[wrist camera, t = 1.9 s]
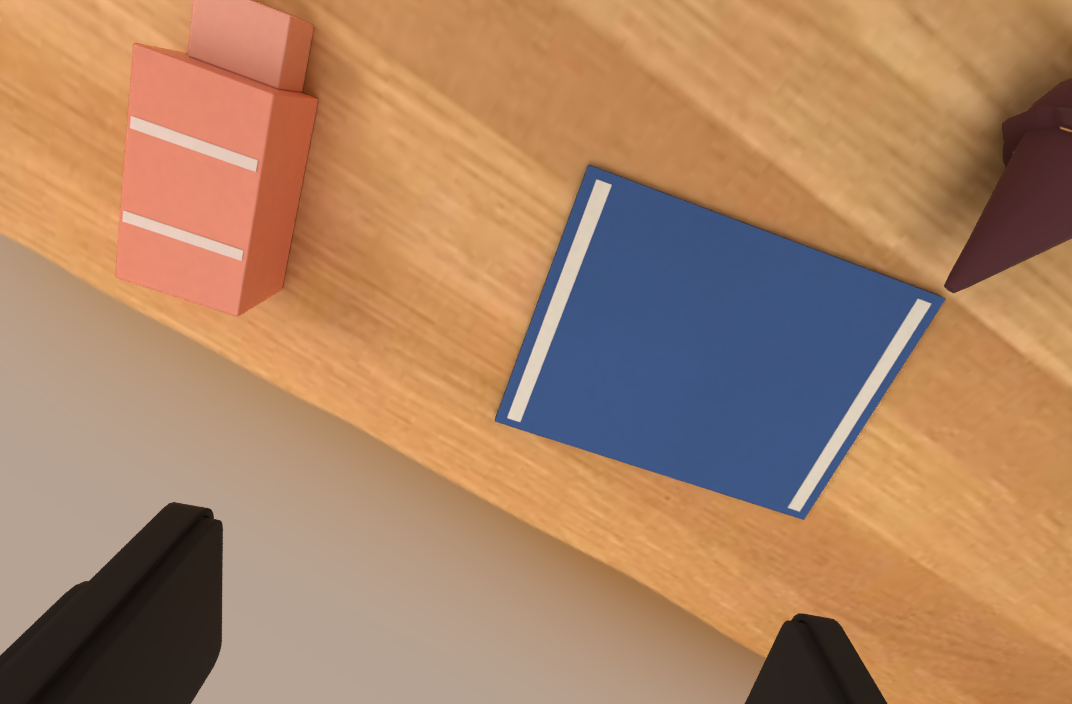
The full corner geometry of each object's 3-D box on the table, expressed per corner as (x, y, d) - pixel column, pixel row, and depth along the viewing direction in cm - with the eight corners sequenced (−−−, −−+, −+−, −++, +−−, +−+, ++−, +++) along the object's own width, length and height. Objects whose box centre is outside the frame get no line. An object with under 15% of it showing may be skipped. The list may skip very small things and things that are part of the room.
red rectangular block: (210, -15, 26) (137, -45, 21) (332, 31, 26) (287, 12, 22) (178, 255, 30) (113, 278, 26) (282, 290, 31) (237, 318, 26)
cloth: (588, 164, 28) (588, 164, 28) (941, 296, 30) (947, 298, 30) (495, 418, 34) (494, 422, 33) (801, 516, 36) (804, 520, 35)
